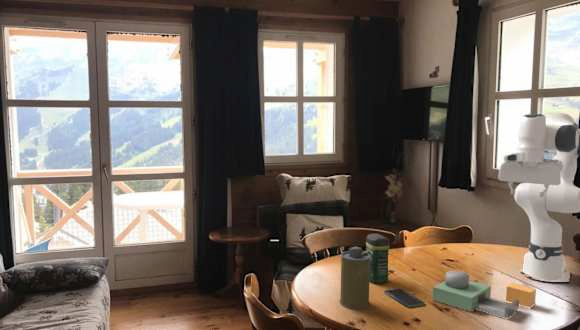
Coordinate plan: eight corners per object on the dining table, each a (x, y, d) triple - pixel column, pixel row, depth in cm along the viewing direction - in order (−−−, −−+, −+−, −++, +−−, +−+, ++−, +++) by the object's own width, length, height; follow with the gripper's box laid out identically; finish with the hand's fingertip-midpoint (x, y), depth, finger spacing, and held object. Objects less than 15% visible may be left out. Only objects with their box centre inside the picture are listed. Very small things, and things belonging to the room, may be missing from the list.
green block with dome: (453, 289, 176) (454, 266, 175) (490, 299, 166) (491, 275, 165) (432, 300, 164) (433, 276, 164) (471, 312, 155) (472, 286, 154)
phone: (407, 306, 157) (383, 290, 171) (407, 309, 158) (383, 293, 171) (426, 303, 160) (400, 288, 174) (426, 306, 160) (400, 290, 174)
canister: (354, 311, 154) (355, 253, 152) (333, 301, 163) (334, 246, 161) (376, 304, 161) (378, 248, 159) (355, 294, 169) (357, 241, 167)
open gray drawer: (486, 301, 164) (487, 291, 163) (518, 310, 156) (519, 300, 156) (474, 309, 157) (475, 299, 156) (507, 319, 149) (508, 308, 149)
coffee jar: (391, 283, 181) (392, 237, 179) (373, 285, 179) (374, 238, 177) (379, 275, 191) (381, 231, 189) (362, 276, 188) (363, 232, 186)
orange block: (511, 298, 167) (512, 283, 166) (534, 305, 161) (535, 288, 161) (505, 302, 163) (506, 286, 163) (530, 309, 158) (531, 292, 157)
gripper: (562, 160, 165) (559, 198, 165) (500, 156, 175) (497, 192, 175) (563, 159, 160) (560, 199, 160) (499, 155, 169) (496, 193, 169)
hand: (527, 195), depth 167 cm, fingers open, 8 cm apart
